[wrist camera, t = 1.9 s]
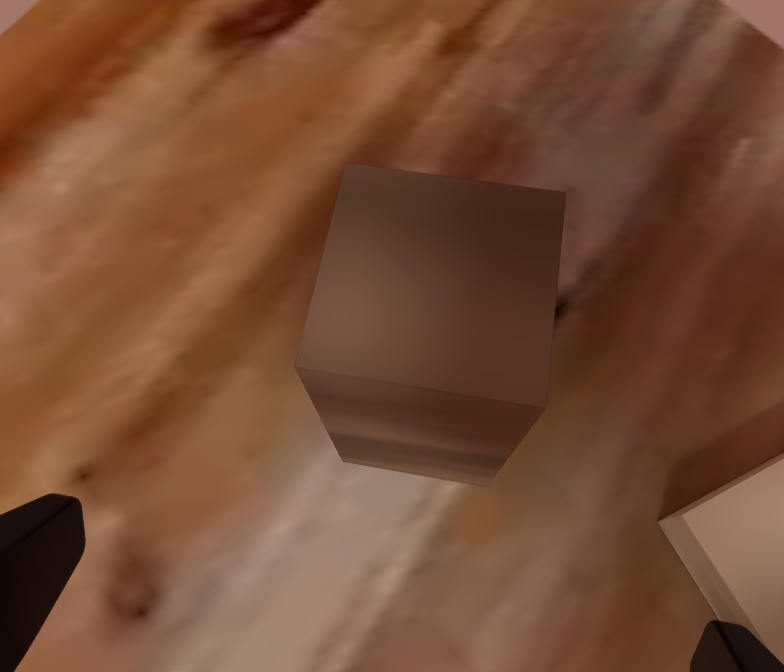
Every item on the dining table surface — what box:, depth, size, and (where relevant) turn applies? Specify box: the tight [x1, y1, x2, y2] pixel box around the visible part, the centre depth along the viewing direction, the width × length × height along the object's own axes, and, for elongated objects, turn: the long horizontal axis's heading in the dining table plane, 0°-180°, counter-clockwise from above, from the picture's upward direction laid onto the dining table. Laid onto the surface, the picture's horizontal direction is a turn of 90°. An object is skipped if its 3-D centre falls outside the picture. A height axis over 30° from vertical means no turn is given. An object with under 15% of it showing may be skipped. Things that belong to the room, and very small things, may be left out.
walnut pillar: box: [294, 163, 566, 487], centre depth 18 cm, size 5×5×10 cm
